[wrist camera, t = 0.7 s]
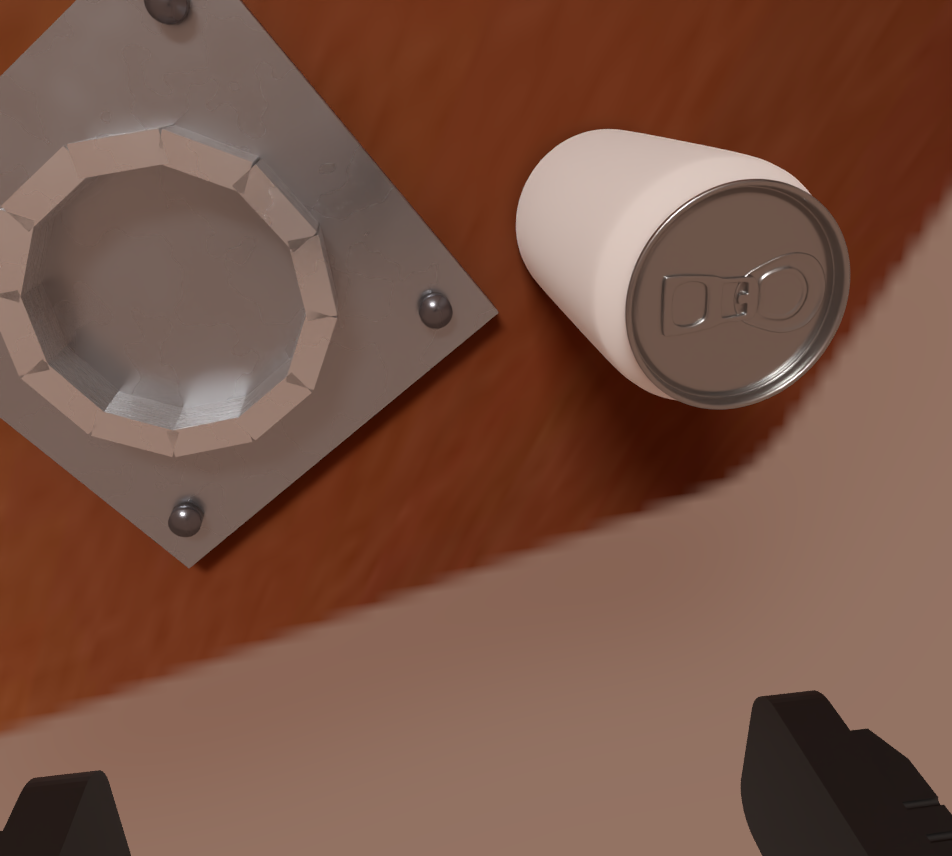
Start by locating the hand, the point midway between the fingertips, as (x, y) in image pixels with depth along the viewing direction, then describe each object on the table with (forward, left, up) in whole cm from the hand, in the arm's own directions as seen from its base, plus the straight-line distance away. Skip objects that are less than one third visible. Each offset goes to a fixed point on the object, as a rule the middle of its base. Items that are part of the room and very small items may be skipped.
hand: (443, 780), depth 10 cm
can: (-8, +3, -22) cm, 24 cm away
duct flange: (+5, -5, -22) cm, 23 cm away
